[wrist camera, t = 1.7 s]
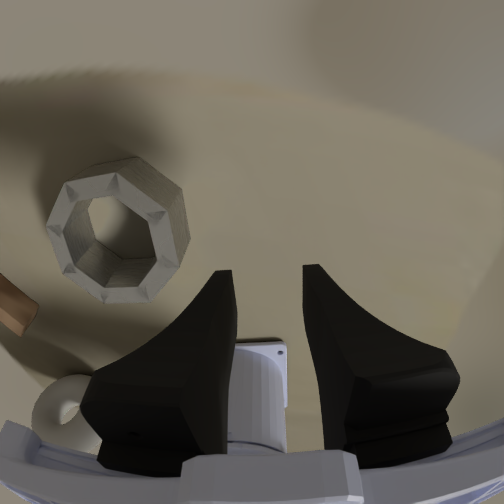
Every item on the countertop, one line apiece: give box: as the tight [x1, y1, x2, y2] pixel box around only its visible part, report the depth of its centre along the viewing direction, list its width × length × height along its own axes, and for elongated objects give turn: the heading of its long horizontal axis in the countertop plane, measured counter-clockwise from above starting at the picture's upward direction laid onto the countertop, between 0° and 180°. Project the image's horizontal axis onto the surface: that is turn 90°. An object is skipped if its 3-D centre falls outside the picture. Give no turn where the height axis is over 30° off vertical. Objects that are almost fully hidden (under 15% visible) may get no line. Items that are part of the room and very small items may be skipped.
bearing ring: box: [46, 157, 191, 303], centre depth 19 cm, size 8×8×4 cm
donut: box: [31, 374, 102, 453], centre depth 25 cm, size 10×4×10 cm, turn 103°
